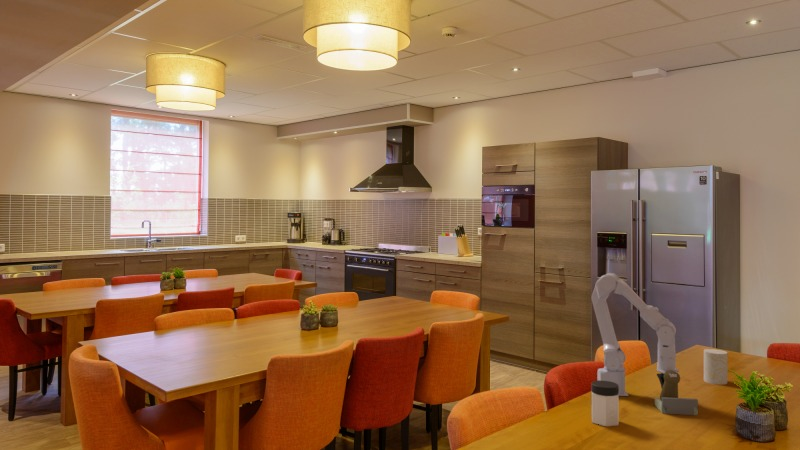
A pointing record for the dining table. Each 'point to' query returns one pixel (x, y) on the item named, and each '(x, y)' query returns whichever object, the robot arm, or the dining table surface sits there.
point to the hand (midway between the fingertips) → (666, 395)
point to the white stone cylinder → (715, 366)
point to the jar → (605, 403)
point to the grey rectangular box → (677, 405)
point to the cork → (670, 385)
